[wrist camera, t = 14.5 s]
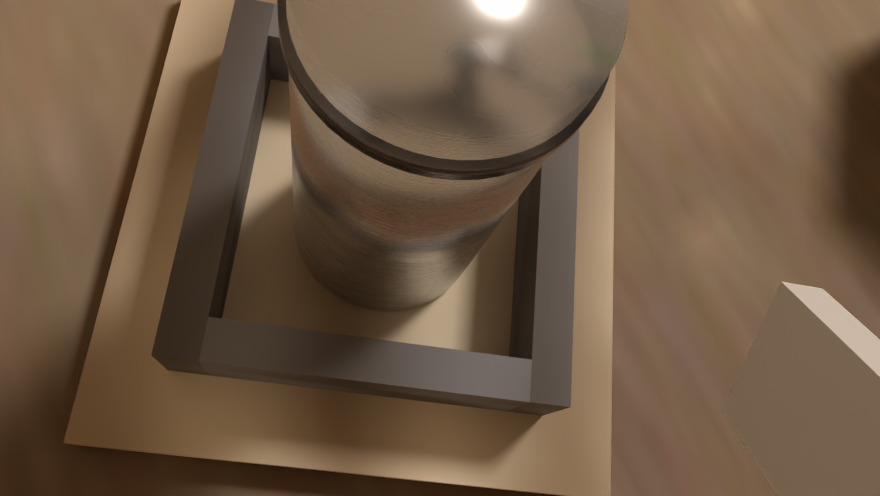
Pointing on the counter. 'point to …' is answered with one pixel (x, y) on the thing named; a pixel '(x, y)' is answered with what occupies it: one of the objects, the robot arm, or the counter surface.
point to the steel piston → (428, 128)
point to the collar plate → (342, 304)
